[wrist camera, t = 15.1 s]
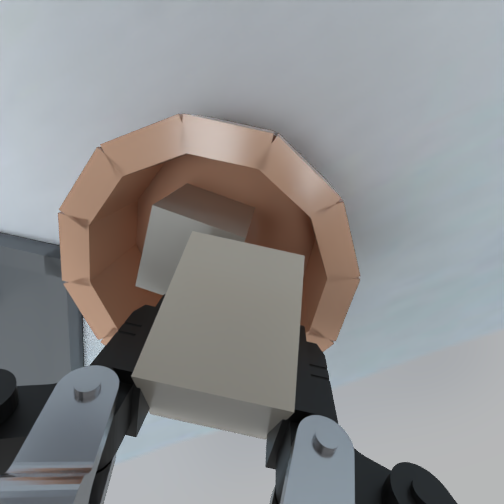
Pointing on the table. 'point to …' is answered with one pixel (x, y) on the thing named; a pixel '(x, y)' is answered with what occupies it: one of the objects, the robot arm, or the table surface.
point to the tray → (36, 314)
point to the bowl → (214, 180)
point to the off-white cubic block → (226, 338)
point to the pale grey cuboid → (186, 230)
